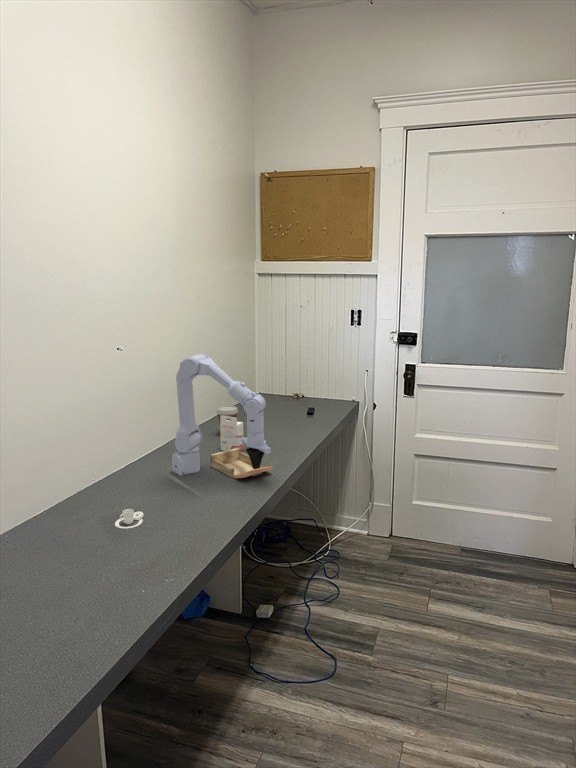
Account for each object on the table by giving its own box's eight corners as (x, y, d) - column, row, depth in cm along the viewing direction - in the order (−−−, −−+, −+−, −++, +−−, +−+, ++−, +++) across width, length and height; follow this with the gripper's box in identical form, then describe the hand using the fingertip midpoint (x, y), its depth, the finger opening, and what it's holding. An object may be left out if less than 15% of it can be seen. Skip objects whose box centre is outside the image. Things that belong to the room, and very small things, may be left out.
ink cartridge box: (244, 449, 229) (243, 414, 226) (238, 453, 225) (237, 418, 222) (227, 446, 233) (226, 412, 230) (220, 450, 229) (219, 415, 226)
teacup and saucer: (141, 515, 172) (140, 502, 171) (148, 525, 165) (147, 512, 164) (112, 521, 168) (111, 508, 167) (118, 532, 161) (117, 519, 160)
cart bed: (231, 481, 196) (231, 465, 195) (210, 470, 207) (210, 454, 206) (261, 472, 204) (261, 457, 203) (240, 462, 215) (239, 447, 214)
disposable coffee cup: (216, 437, 245) (215, 411, 242) (218, 431, 254) (217, 405, 252) (238, 437, 245) (237, 410, 243) (239, 430, 254) (238, 405, 252)
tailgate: (234, 480, 195) (243, 479, 190) (233, 475, 195) (242, 474, 190) (263, 471, 203) (273, 470, 198) (262, 467, 203) (272, 466, 198)
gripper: (277, 433, 189) (278, 471, 192) (252, 423, 200) (253, 459, 203) (260, 437, 184) (261, 476, 187) (236, 427, 195) (237, 464, 198)
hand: (256, 468), depth 195 cm, fingers closed
